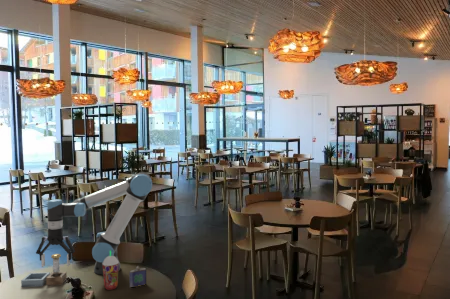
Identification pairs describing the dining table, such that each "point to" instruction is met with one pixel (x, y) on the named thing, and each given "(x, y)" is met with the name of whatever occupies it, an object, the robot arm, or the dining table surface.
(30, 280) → the tray
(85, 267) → the dining table surface
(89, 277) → the dining table surface
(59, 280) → the block
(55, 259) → the pin
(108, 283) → the smoothie
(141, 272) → the flask
